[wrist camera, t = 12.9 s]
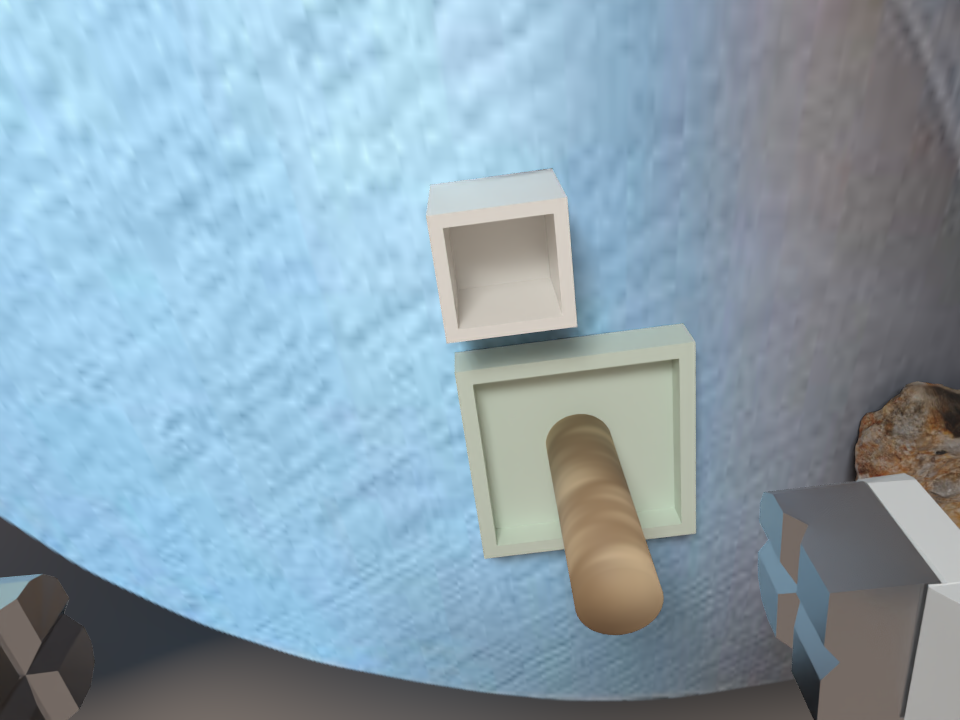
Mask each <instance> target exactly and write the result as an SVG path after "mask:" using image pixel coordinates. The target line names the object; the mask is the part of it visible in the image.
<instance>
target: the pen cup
mask: <svg viewBox="0 0 960 720" xmlns="http://www.w3.org/2000/svg"><path fill="white" fill-rule="evenodd" d="M426 219H427V225H428V231H429V237H430V243H431V250H432V256H433V262H434V268H435V274H436V280H437V286H438V293H439V299H440V305H441V311H442V317H443V323H444V329H445V336H446V342H447V343H454V342H462V341H470V340H478V339H485V338H493V337H501V336H509V335H517V334H524V333H532V332H540V331H548V330H556V329H563V328H571V327H577V317H576V305H575V292H574V279H573V266H572V253H571V240H570V227H569V215H568V202H567V196H566V194H565V192H564V190H563V188H562V187H561V185H560V183H559V181H558V179H557V177H556V175H555V173H554V171H553V170H552V168H550V169H543V170H535V171H528V172H521V173H513V174H506V175H498V176H491V177H484V178H476V179H469V180H461V181H454V182H447V183H439V184H432V185H430V190H429V197H428V205H427V212H426Z"/></svg>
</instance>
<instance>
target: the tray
mask: <svg viewBox="0 0 960 720" xmlns="http://www.w3.org/2000/svg"><path fill="white" fill-rule="evenodd" d="M455 378H456V384H457V390H458V397H459V403H460V409H461V415H462V421H463V428H464V434H465V440H466V446H467V453H468V459H469V465H470V471H471V477H472V484H473V490H474V496H475V502H476V508H477V515H478V521H479V527H480V533H481V540H482V546H483V552H484V558H485V559H486V558H495V557H503V556H511V555H520V554H528V553H537V552H545V551H553V550H562V549H564V543H563V538H562V532H561V527H560V521H559V515H558V510H557V504H556V499H555V493H554V488H553V482H552V477H551V471H550V466H549V460H548V455H547V449H546V438H547V435H548V433H549V431H550V429H551V428H552V427H553V425H555V424H556V423H557V422H558V421H559V420H561V419H563V418H565V417H567V416H570V415H575V414H587V415H592V416H594V417H597V418H599V419H600V420H602V421H603V422H604V423H605V424H606V425H607V427H608V428H609V430H610V433H611V436H612V439H613V442H614V445H615V448H616V451H617V454H618V458H619V461H620V464H621V467H622V470H623V473H624V476H625V479H626V482H627V485H628V488H629V491H630V494H631V497H632V500H633V503H634V506H635V509H636V512H637V515H638V518H639V521H640V525H641V528H642V531H643V534H644V537H645V540H646V539H654V538H662V537H671V536H679V535H688V534H696V388H695V341H694V339H693V338H692V336H691V335H690V333H689V332H688V330H687V329H686V327H685V326H684V324H683V323H682V324H675V325H667V326H659V327H651V328H643V329H636V330H628V331H620V332H612V333H604V334H596V335H589V336H581V337H573V338H565V339H557V340H550V341H542V342H534V343H526V344H518V345H510V346H503V347H495V348H487V349H479V350H471V351H464V352H456V353H455Z"/></svg>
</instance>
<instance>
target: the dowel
mask: <svg viewBox="0 0 960 720" xmlns="http://www.w3.org/2000/svg"><path fill="white" fill-rule="evenodd" d="M546 449H547V455H548V460H549V466H550V471H551V477H552V482H553V488H554V493H555V499H556V504H557V510H558V515H559V521H560V527H561V532H562V538H563V543H564V549H565V554H566V560H567V565H568V571H569V576H570V582H571V588H572V593H573V599H574V604H575V610H576V613H577V616H578V618H579V619H580V621H581V622H582V623H583V624H584V625H585V626H587V627H588V628H590V629H591V630H593V631H596V632H598V633H602V634H608V635H622V634H628V633H632V632H635V631H637V630H640V629H642V628H644V627H645V626H647V625H648V624H649V623H651V622H652V621H653V620H654V619H655V618H656V617H657V615H658V614H659V612H660V611H661V608H662V605H663V592H662V588H661V585H660V582H659V579H658V576H657V573H656V570H655V567H654V564H653V561H652V558H651V555H650V552H649V549H648V546H647V543H646V540H645V537H644V534H643V531H642V528H641V525H640V521H639V518H638V515H637V512H636V509H635V506H634V503H633V500H632V497H631V494H630V491H629V488H628V485H627V482H626V479H625V476H624V473H623V470H622V467H621V464H620V461H619V458H618V454H617V451H616V448H615V445H614V442H613V439H612V436H611V433H610V430H609V428H608V427H607V425H606V424H605V423H604V422H603V421H602V420H600V419H599V418H597V417H594V416H592V415H587V414H575V415H570V416H567V417H565V418H563V419H561V420H559V421H558V422H557V423H556V424H555V425H553V427H552V428H551V429H550V431H549V433H548V435H547V438H546Z"/></svg>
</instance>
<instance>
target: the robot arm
mask: <svg viewBox="0 0 960 720" xmlns="http://www.w3.org/2000/svg"><path fill="white" fill-rule="evenodd" d="M759 521H760V523H761V525H762V527H763V529H764V531H765V533H766V535H767V537H768V539H769V540H768V541H767V542H766V544H765V545H764V546H763V547H762V548H761V549H760V551H759V552H758V579H759V585H760V591H761V597H762V602H763V605H764V608H765V611H766V614H767V618H768V620H769V622H770V625H771V627H772V629H773V632H774V634H775V636H776V638H778V639H779V640H781V641H782V642H783V643H785V644H786V645H788V646H789V647H791V648H792V649H793V652H792V668H791V672H792V674H793V676H794V678H795V681H796V682H797V685H798V687H799V689H800V691H801V694H802V696H803V698H804V700H805V702H806V704H807V706H808V709H809V711H810V713H811V715H812V717H813V719H814V720H960V529H959V528H958V527H957V525H956V524H955V523H954V522H953V521H952V520H951V519H950V518H949V516H948V515H947V514H946V513H945V512H944V511H943V510H942V508H941V507H940V506H939V505H938V504H937V503H936V502H935V501H934V499H933V498H932V497H931V496H930V495H929V494H928V493H927V491H926V490H925V489H924V488H923V487H922V486H921V485H920V483H919V482H918V481H917V480H916V479H915V478H914V477H912V476H910V475H907V474H905V473H901V474H894V475H887V476H879V477H872V478H865V479H858V480H857V481H851V482H843V483H834V484H826V485H818V486H809V487H801V488H793V489H784V490H776V491H768V492H764V493H763V496H762V499H761V502H760V518H759ZM68 600H69V597H68V596H67V594H66V592H65V591H64V589H63V587H62V586H61V584H60V582H59V581H58V579H57V578H56V577H52V576H48V575H44V574H38V575H27V576H17V577H6V578H0V720H68V719H69V718H70V717H71V716H72V715H73V714H74V713H76V712H77V711H78V710H79V709H80V707H81V705H82V703H83V701H84V699H85V697H86V695H87V693H88V691H89V689H90V687H91V681H92V675H93V669H94V663H95V660H94V654H93V647H92V642H91V640H90V638H89V636H88V634H87V632H86V630H85V628H84V626H82V625H81V624H79V623H78V622H76V621H75V620H73V619H71V618H70V617H68V616H67V615H65V614H64V612H65V609H66V606H67V603H68Z"/></svg>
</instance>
